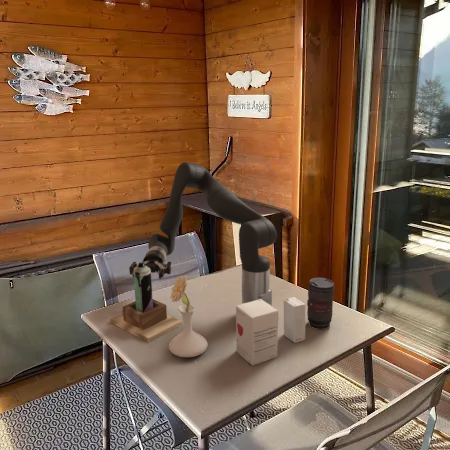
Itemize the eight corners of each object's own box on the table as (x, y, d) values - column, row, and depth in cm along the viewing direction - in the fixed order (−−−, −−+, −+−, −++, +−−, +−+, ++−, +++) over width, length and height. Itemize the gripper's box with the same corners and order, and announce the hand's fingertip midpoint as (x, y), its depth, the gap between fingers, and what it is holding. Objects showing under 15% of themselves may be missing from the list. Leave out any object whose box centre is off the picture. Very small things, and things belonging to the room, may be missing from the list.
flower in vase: (171, 340, 144) (168, 264, 137) (208, 340, 144) (207, 264, 137) (165, 364, 132) (160, 282, 125) (205, 364, 131) (203, 282, 124)
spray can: (152, 323, 152) (148, 265, 146) (135, 323, 152) (131, 265, 146) (154, 315, 157) (151, 259, 151) (138, 315, 157) (134, 259, 151)
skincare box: (305, 340, 144) (307, 304, 140) (293, 343, 142) (294, 307, 138) (294, 331, 149) (295, 296, 145) (282, 334, 147) (283, 299, 144)
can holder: (182, 325, 153) (181, 307, 151) (148, 342, 143) (147, 323, 141) (142, 307, 166) (141, 290, 164) (109, 322, 156) (108, 304, 154)
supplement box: (235, 351, 138) (234, 304, 134) (260, 343, 142) (261, 297, 138) (251, 366, 130) (252, 317, 126) (278, 357, 135) (279, 310, 130)
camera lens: (317, 333, 147) (319, 289, 143) (301, 322, 154) (303, 280, 150) (337, 326, 151) (340, 283, 147) (320, 316, 158) (323, 275, 154)
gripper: (135, 249, 173) (125, 265, 157) (173, 249, 173) (167, 265, 157) (136, 268, 175) (127, 286, 160) (174, 268, 175) (168, 286, 159)
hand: (147, 276), depth 158 cm, fingers open, 8 cm apart
